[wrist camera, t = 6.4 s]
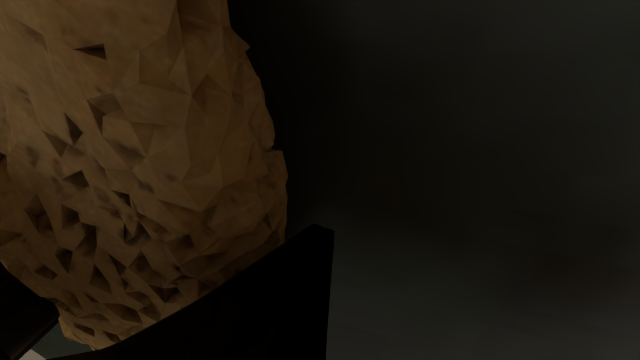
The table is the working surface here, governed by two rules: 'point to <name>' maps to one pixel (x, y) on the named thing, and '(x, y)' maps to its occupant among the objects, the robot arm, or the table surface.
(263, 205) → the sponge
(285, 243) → the robot arm
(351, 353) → the table surface
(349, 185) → the table surface
